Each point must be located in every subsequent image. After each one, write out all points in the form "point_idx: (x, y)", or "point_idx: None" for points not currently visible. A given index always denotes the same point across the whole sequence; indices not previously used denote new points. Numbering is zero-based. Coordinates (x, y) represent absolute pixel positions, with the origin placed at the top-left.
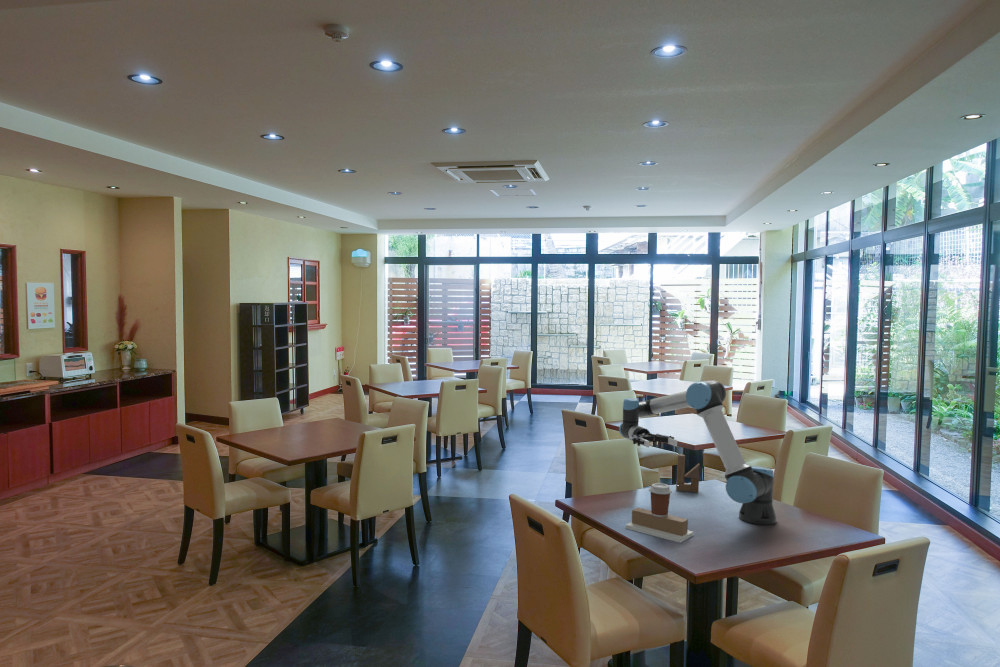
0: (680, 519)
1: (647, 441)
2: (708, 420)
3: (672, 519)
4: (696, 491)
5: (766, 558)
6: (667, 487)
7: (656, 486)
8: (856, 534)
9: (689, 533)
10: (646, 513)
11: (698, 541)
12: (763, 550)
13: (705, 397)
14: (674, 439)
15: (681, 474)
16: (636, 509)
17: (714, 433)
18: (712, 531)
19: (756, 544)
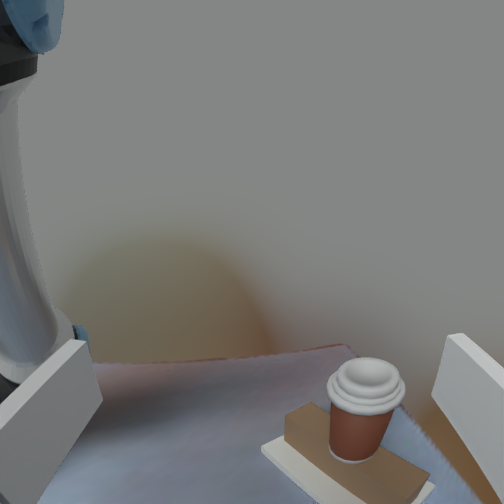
0: (306, 416)
1: (467, 341)
2: (13, 135)
3: (329, 416)
4: None
5: (203, 362)
6: (350, 360)
7: (386, 363)
8: None
9: (280, 437)
10: (391, 452)
11: (272, 424)
12: (178, 379)
13: (62, 9)
14: (43, 367)
15: None
16: (416, 481)
17: (23, 206)
18: (189, 461)
19: (163, 395)
